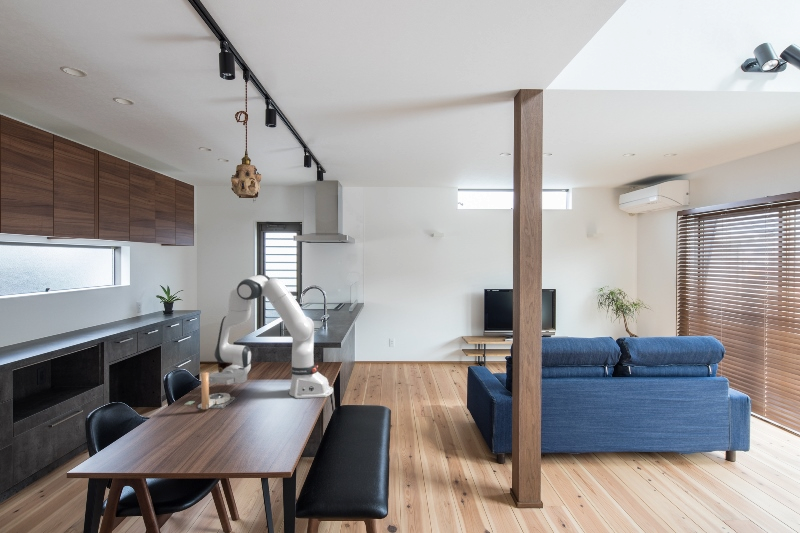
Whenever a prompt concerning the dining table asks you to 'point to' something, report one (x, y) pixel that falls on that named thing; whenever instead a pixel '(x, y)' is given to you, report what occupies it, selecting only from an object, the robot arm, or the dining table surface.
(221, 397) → the plinth
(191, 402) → the lock mark
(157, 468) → the dining table surface
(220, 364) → the coffee cup
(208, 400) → the peg stand
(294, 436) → the dining table surface
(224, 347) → the robot arm
